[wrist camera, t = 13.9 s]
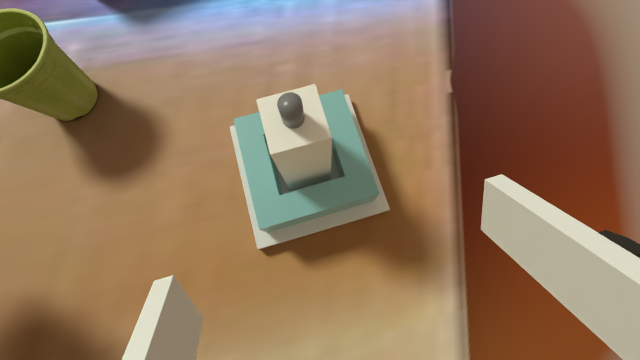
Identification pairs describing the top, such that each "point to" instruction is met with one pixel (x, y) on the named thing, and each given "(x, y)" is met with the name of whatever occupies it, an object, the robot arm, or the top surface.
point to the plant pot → (40, 69)
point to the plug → (297, 136)
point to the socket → (316, 200)
